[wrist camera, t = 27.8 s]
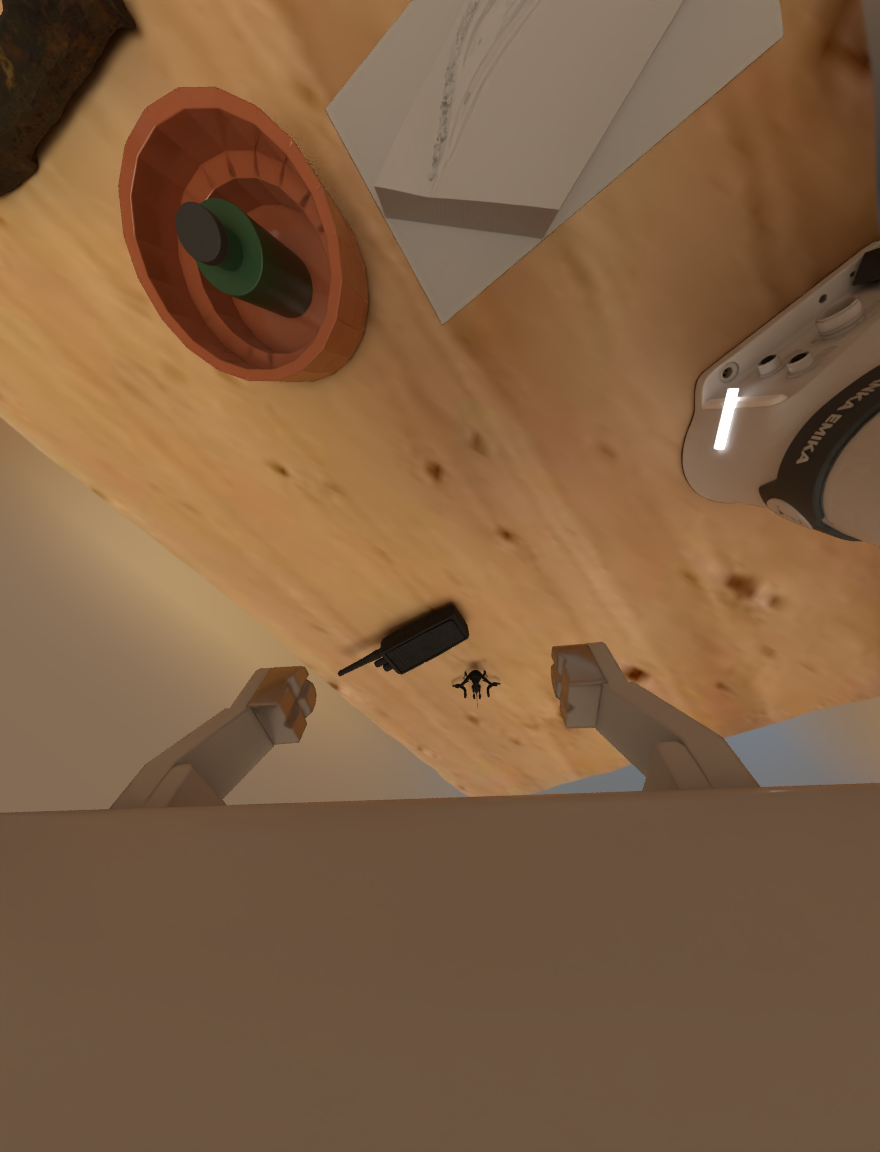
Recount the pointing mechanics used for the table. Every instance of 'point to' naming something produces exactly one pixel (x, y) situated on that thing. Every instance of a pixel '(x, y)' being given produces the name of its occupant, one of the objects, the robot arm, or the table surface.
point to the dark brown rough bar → (45, 69)
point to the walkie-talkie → (418, 642)
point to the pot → (271, 198)
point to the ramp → (525, 116)
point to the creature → (475, 683)
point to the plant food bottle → (243, 257)
